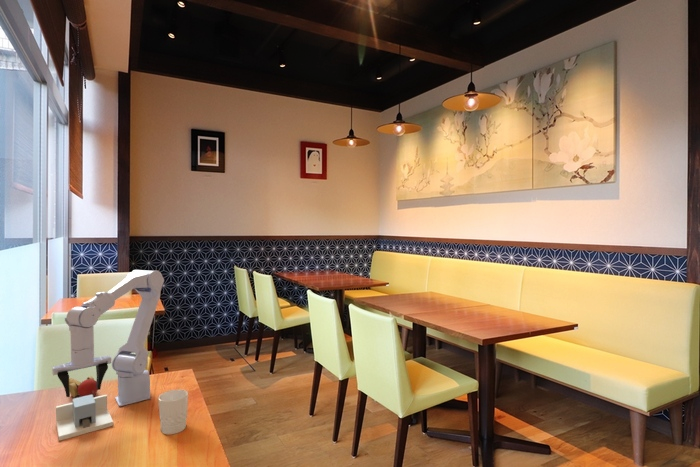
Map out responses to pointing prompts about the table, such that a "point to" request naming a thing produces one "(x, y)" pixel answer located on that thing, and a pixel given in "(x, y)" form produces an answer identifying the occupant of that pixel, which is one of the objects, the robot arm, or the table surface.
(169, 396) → the white cup
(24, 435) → the table surface
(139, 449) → the table surface
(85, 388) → the kendama
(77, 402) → the block
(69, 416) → the board
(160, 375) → the table surface
